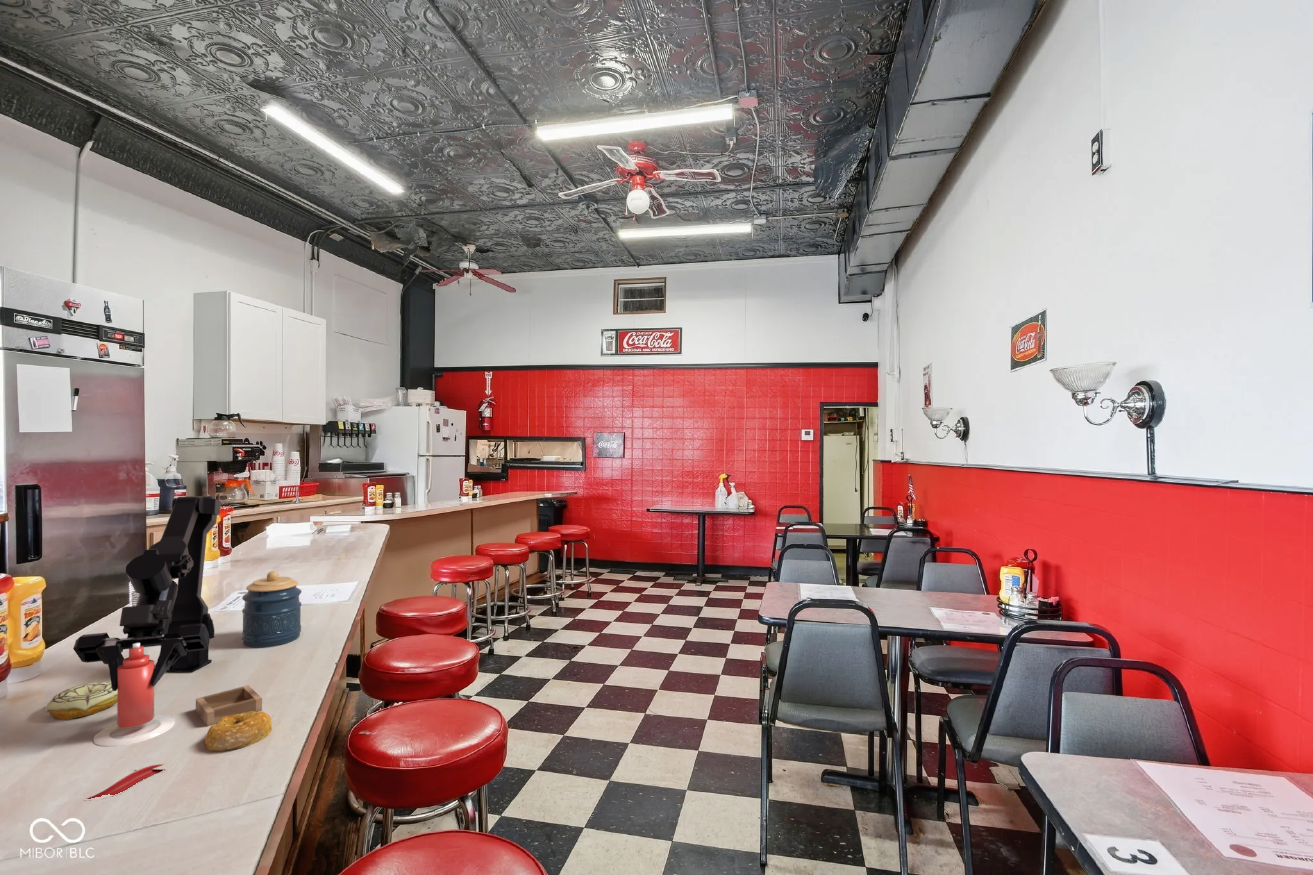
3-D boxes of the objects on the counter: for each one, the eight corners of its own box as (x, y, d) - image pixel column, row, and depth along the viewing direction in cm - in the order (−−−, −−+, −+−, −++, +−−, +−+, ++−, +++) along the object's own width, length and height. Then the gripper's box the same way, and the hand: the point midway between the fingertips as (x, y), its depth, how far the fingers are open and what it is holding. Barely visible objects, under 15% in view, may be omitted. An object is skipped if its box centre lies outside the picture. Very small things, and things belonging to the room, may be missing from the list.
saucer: (75, 748, 103) (75, 744, 103) (131, 718, 114) (131, 714, 114) (139, 750, 103) (139, 745, 103) (190, 719, 114) (190, 715, 114)
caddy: (195, 714, 116) (195, 698, 116) (248, 699, 123) (248, 685, 123) (207, 729, 111) (207, 712, 110) (261, 713, 117) (262, 697, 117)
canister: (306, 629, 166) (306, 564, 166) (294, 645, 154) (295, 575, 153) (250, 633, 162) (251, 567, 162) (234, 650, 150) (234, 578, 149)
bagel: (278, 721, 114) (278, 696, 114) (266, 750, 104) (265, 723, 104) (214, 731, 110) (214, 705, 110) (195, 763, 100) (195, 734, 100)
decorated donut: (30, 722, 112) (30, 702, 112) (80, 697, 123) (80, 678, 123) (90, 721, 113) (90, 701, 113) (135, 696, 124) (135, 677, 124)
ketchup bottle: (111, 723, 108) (111, 645, 107) (144, 711, 112) (144, 637, 112) (126, 729, 105) (127, 650, 105) (160, 717, 110) (160, 641, 110)
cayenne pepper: (80, 810, 88) (80, 797, 87) (74, 798, 90) (74, 785, 90) (183, 775, 97) (183, 763, 97) (174, 764, 100) (175, 753, 100)
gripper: (78, 590, 108) (47, 675, 98) (206, 581, 116) (189, 659, 106) (96, 621, 115) (69, 703, 106) (216, 610, 123) (201, 686, 113)
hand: (133, 687), depth 107 cm, fingers closed on ketchup bottle, 5 cm apart
